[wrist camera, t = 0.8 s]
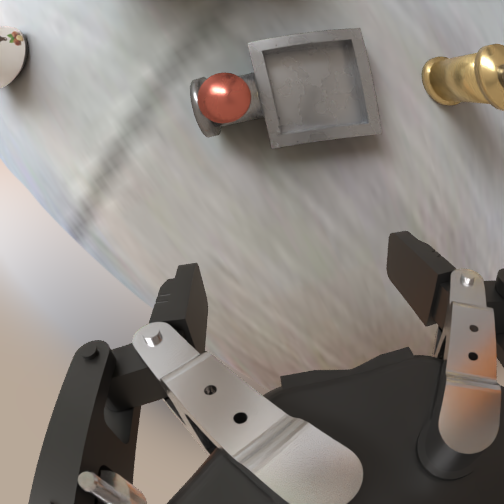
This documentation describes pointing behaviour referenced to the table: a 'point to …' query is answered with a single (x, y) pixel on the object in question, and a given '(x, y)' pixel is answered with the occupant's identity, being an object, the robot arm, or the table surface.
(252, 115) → the grey piece
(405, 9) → the table surface
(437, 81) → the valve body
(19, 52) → the spread jar
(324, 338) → the table surface
